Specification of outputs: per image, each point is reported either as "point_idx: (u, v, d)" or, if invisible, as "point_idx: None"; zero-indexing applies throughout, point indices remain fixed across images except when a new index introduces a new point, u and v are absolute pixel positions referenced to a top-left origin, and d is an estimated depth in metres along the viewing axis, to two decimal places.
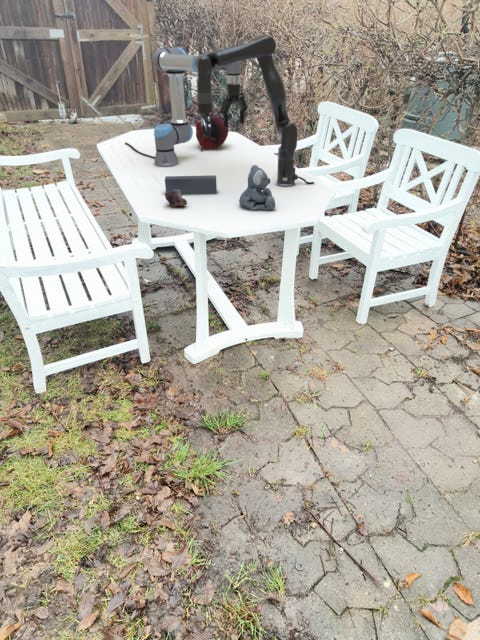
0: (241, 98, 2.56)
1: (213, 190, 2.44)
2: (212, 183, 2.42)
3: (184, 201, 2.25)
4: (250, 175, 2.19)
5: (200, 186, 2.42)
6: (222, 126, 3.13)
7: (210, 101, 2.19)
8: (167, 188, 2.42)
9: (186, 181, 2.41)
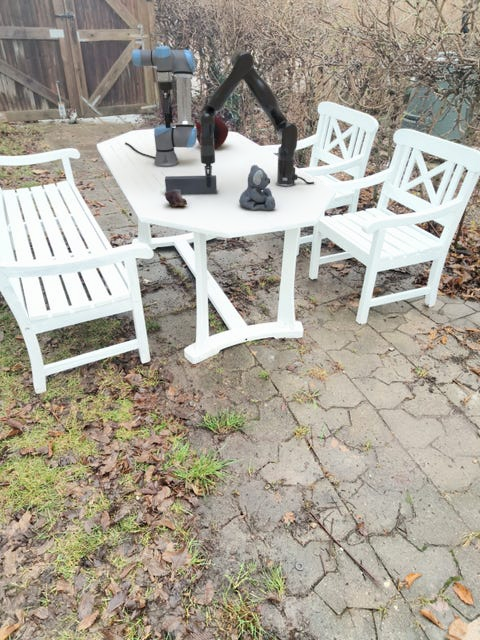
0: None
1: (213, 190, 2.44)
2: (212, 183, 2.42)
3: (184, 201, 2.25)
4: (250, 175, 2.19)
5: (200, 186, 2.42)
6: (222, 126, 3.13)
7: (211, 153, 2.33)
8: (167, 188, 2.42)
9: (186, 181, 2.41)
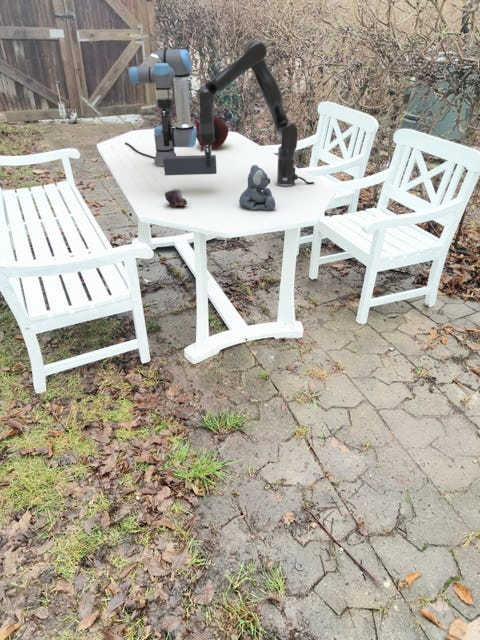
0: None
1: (213, 170, 2.38)
2: (212, 163, 2.36)
3: (184, 201, 2.25)
4: (250, 175, 2.19)
5: (199, 166, 2.36)
6: (222, 126, 3.13)
7: (210, 131, 2.27)
8: (165, 168, 2.36)
9: (185, 160, 2.35)
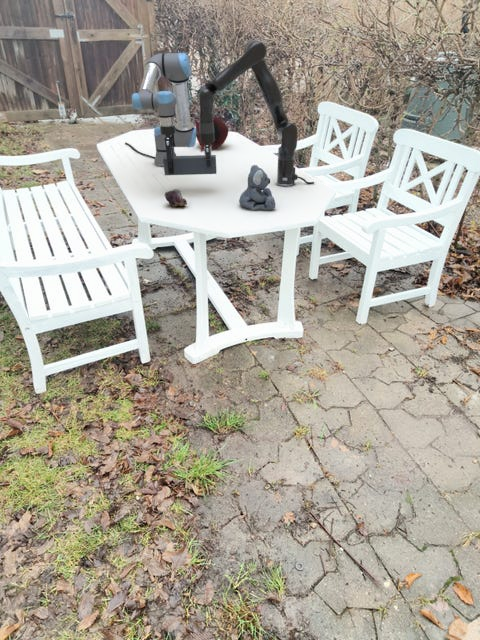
0: None
1: (213, 170, 2.38)
2: (212, 163, 2.36)
3: (184, 201, 2.25)
4: (250, 175, 2.19)
5: (199, 165, 2.36)
6: (222, 126, 3.13)
7: (210, 131, 2.27)
8: (165, 168, 2.36)
9: (185, 160, 2.35)
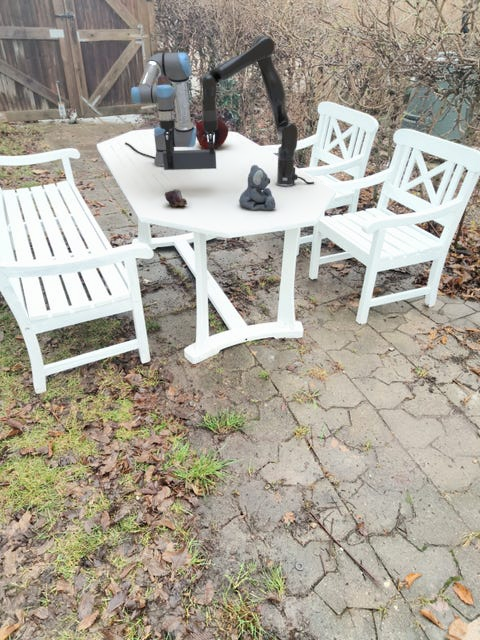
0: None
1: (213, 165, 2.37)
2: (211, 158, 2.34)
3: (184, 201, 2.25)
4: (250, 175, 2.19)
5: (199, 160, 2.35)
6: (222, 126, 3.13)
7: (214, 119, 2.23)
8: (165, 163, 2.35)
9: (184, 155, 2.33)
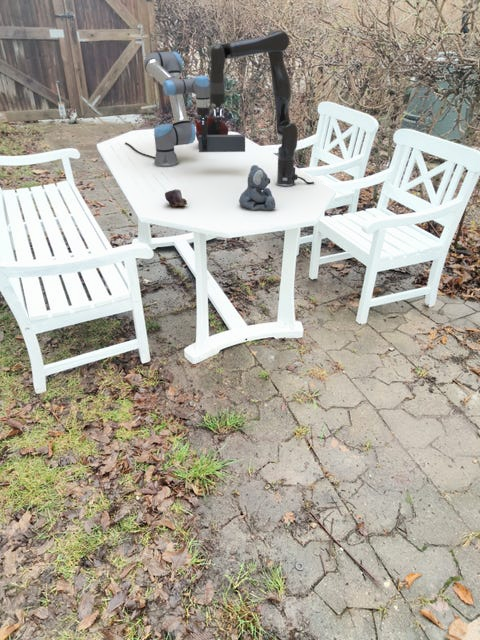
0: None
1: (242, 148, 2.65)
2: (241, 142, 2.63)
3: (184, 201, 2.25)
4: (250, 175, 2.19)
5: (230, 144, 2.64)
6: (222, 126, 3.13)
7: (221, 92, 2.17)
8: (200, 145, 2.65)
9: (217, 139, 2.62)
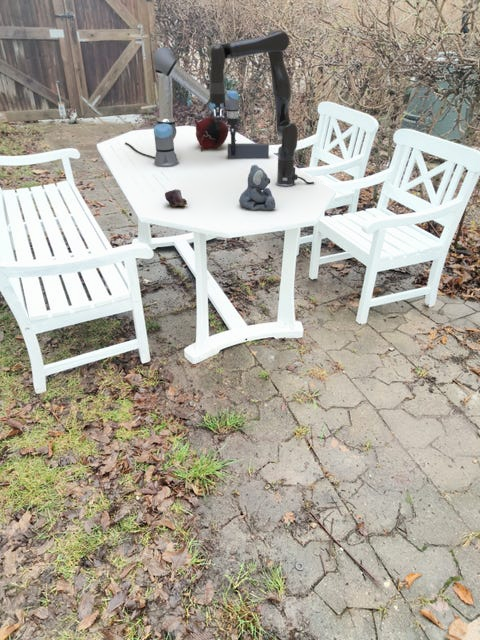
0: None
1: (266, 155, 3.02)
2: (265, 149, 3.00)
3: (184, 201, 2.25)
4: (250, 175, 2.19)
5: (255, 151, 3.01)
6: (222, 126, 3.13)
7: (221, 92, 2.17)
8: (229, 153, 3.02)
9: (244, 147, 3.00)
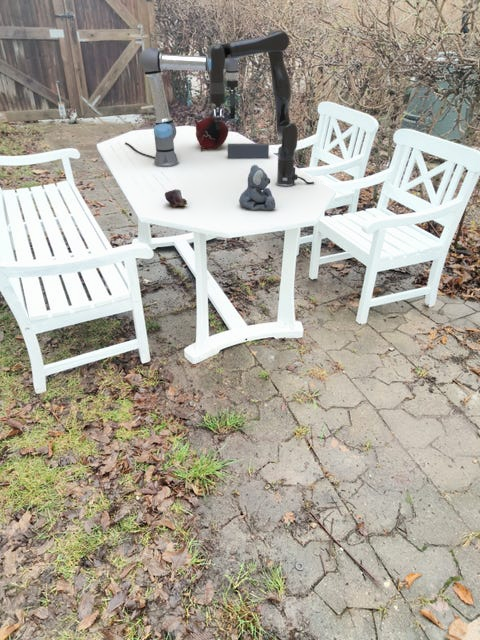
0: None
1: (266, 155, 3.02)
2: (265, 149, 3.00)
3: (184, 201, 2.25)
4: (250, 175, 2.19)
5: (255, 151, 3.01)
6: (222, 126, 3.13)
7: (221, 92, 2.17)
8: (229, 153, 3.02)
9: (244, 147, 3.00)
